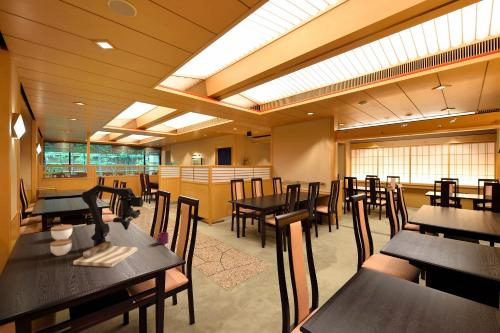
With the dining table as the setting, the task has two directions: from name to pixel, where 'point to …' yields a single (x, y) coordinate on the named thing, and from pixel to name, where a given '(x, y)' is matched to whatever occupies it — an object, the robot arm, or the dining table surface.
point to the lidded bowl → (61, 231)
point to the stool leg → (96, 249)
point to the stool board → (107, 256)
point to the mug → (162, 238)
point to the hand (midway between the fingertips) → (126, 229)
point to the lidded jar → (61, 246)
